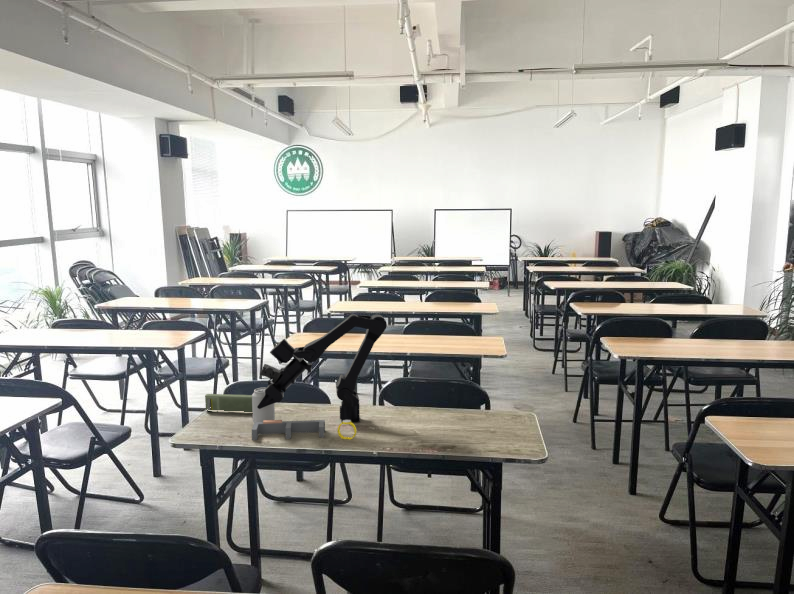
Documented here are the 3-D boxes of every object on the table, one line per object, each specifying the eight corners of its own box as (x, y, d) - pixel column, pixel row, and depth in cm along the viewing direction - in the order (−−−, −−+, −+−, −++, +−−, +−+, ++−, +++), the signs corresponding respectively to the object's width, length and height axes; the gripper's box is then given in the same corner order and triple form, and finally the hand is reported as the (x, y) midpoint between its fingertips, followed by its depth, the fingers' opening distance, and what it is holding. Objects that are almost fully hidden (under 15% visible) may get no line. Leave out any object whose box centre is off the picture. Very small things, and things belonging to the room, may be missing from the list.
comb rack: (324, 429, 193) (324, 418, 193) (325, 437, 186) (324, 424, 186) (254, 432, 190) (254, 420, 190) (251, 440, 183) (251, 427, 183)
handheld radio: (208, 410, 216) (273, 412, 213) (204, 413, 213) (270, 415, 210) (207, 392, 215) (272, 395, 212) (204, 395, 212) (270, 397, 209)
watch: (337, 440, 184) (335, 422, 184) (340, 437, 187) (338, 419, 187) (355, 440, 183) (353, 422, 183) (357, 437, 186) (356, 419, 185)
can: (250, 421, 202) (249, 388, 201) (271, 418, 205) (270, 385, 204) (255, 427, 195) (254, 393, 194) (277, 424, 199) (276, 390, 197)
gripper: (276, 351, 208) (245, 382, 207) (271, 362, 189) (238, 396, 189) (298, 372, 209) (268, 402, 209) (296, 385, 191) (263, 419, 191)
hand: (259, 404), depth 199 cm, fingers closed on can, 7 cm apart
